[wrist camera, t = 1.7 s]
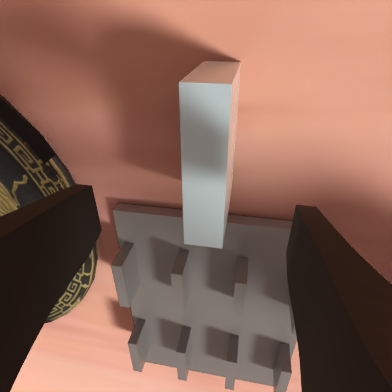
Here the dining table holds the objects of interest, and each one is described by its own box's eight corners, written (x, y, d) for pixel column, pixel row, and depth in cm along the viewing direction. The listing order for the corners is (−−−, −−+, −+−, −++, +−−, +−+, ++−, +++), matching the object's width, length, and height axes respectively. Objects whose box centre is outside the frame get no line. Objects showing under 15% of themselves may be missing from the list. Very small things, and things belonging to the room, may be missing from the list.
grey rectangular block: (241, 61, 16) (231, 84, 11) (231, 189, 20) (222, 248, 15) (204, 60, 16) (178, 82, 11) (202, 187, 20) (184, 243, 15)
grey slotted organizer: (325, 224, 20) (337, 260, 17) (281, 377, 30) (283, 416, 28) (118, 202, 22) (96, 231, 19) (143, 352, 33) (132, 385, 30)
